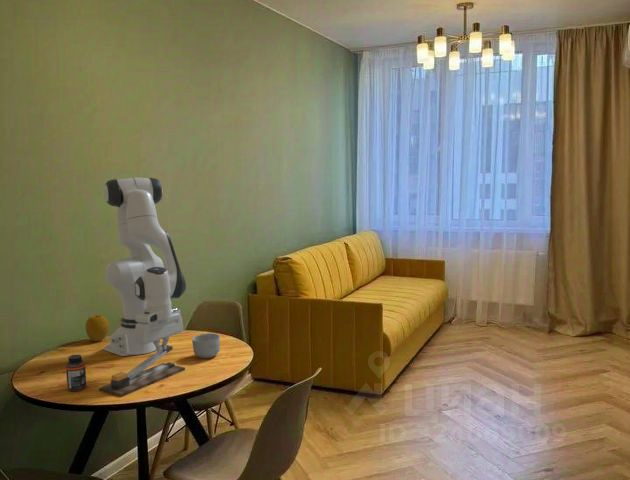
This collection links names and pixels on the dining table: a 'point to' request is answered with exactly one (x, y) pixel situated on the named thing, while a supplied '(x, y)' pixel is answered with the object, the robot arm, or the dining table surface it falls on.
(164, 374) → the board
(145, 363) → the tongs arm
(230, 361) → the dining table surface
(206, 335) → the teacup
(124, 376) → the tab
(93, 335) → the apple
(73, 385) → the supplement bottle
